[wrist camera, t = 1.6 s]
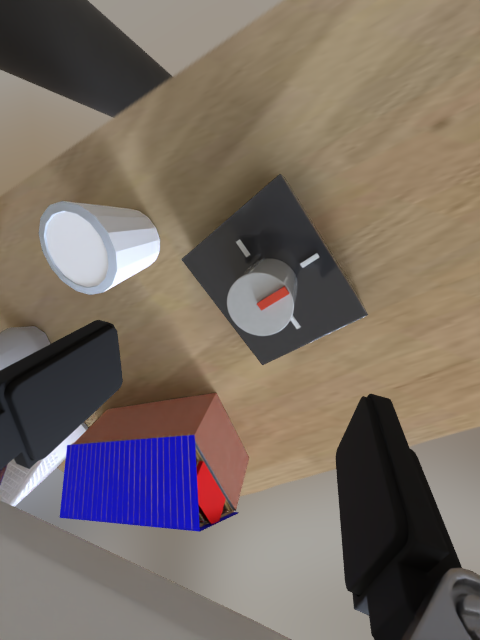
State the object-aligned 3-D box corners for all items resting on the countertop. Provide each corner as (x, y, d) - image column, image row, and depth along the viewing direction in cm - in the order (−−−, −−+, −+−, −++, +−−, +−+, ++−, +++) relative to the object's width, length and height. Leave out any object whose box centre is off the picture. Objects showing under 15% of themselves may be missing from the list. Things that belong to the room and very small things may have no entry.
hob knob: (263, 320, 21) (251, 348, 17) (232, 278, 20) (212, 297, 16) (308, 294, 19) (307, 318, 15) (277, 246, 18) (266, 259, 14)
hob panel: (195, 253, 24) (180, 259, 21) (284, 177, 19) (280, 173, 16) (267, 349, 26) (262, 366, 23) (361, 301, 21) (368, 316, 19)
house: (104, 407, 38) (27, 483, 28) (217, 390, 30) (168, 485, 20) (143, 462, 41) (87, 547, 31) (252, 459, 34) (225, 570, 24)
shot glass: (170, 274, 25) (125, 297, 19) (114, 272, 27) (55, 292, 21) (159, 199, 22) (101, 199, 16) (97, 202, 24) (23, 202, 18)
